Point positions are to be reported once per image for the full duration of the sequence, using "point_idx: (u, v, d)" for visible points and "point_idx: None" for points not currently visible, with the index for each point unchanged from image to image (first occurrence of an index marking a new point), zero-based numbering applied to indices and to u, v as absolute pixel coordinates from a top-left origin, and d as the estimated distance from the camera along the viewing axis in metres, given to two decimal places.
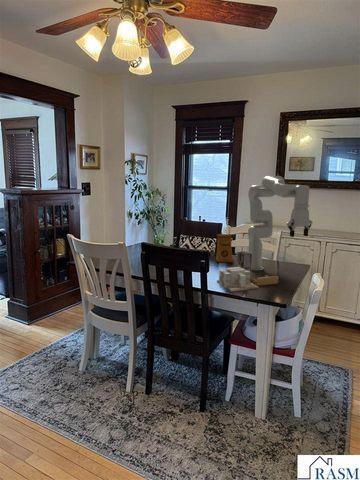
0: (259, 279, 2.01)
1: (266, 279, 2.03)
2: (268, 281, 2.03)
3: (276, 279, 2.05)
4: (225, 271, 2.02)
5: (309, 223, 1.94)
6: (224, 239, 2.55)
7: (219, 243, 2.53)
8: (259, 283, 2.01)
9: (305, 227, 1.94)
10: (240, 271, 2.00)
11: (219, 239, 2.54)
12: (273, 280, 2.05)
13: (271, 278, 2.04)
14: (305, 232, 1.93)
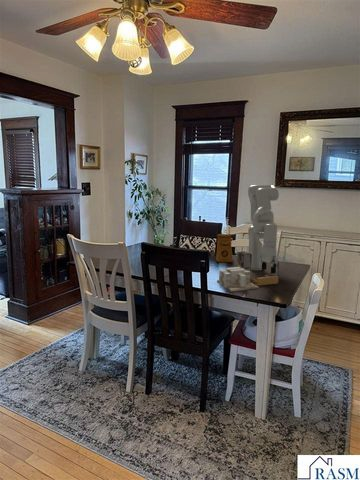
0: (259, 279, 2.01)
1: (266, 279, 2.03)
2: (268, 281, 2.03)
3: (276, 279, 2.05)
4: (225, 271, 2.02)
5: None
6: (224, 239, 2.55)
7: (219, 243, 2.53)
8: (259, 283, 2.01)
9: (263, 262, 2.06)
10: (240, 271, 2.00)
11: (219, 239, 2.54)
12: (273, 280, 2.05)
13: (271, 278, 2.04)
14: (264, 266, 2.06)
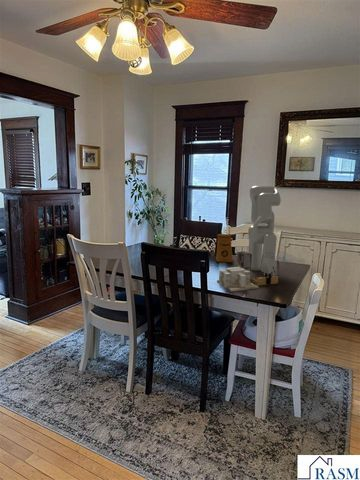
0: (259, 279, 2.01)
1: None
2: None
3: (276, 279, 2.05)
4: (225, 271, 2.02)
5: None
6: (224, 239, 2.55)
7: (219, 243, 2.53)
8: (259, 283, 2.01)
9: (265, 274, 2.05)
10: (240, 271, 2.00)
11: (219, 239, 2.54)
12: (273, 280, 2.05)
13: (271, 278, 2.04)
14: None
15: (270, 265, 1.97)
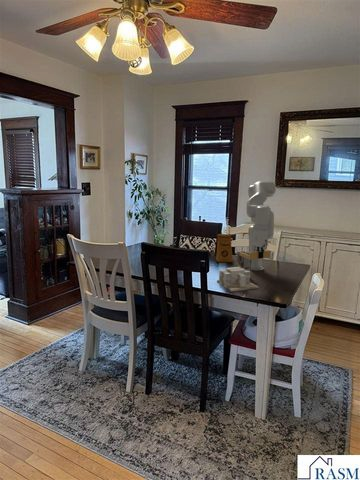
0: (251, 253, 1.95)
1: None
2: None
3: (268, 253, 1.99)
4: (225, 271, 2.02)
5: None
6: (224, 239, 2.55)
7: (219, 243, 2.53)
8: (251, 257, 1.95)
9: None
10: (240, 271, 2.00)
11: (219, 239, 2.54)
12: (265, 254, 1.99)
13: (263, 253, 1.98)
14: None
15: (262, 238, 1.91)
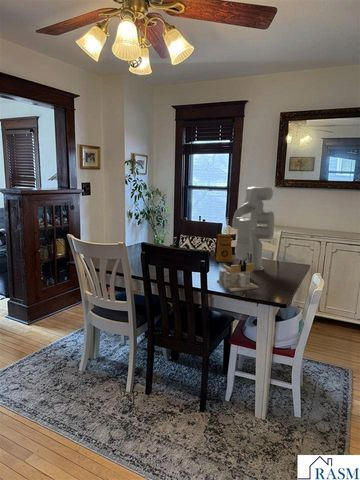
0: (233, 266, 1.92)
1: None
2: None
3: (251, 267, 1.96)
4: (225, 271, 2.02)
5: None
6: (224, 239, 2.55)
7: (219, 243, 2.53)
8: (233, 271, 1.92)
9: (240, 261, 1.95)
10: None
11: (219, 239, 2.54)
12: (248, 267, 1.95)
13: (246, 266, 1.94)
14: None
15: (244, 251, 1.88)
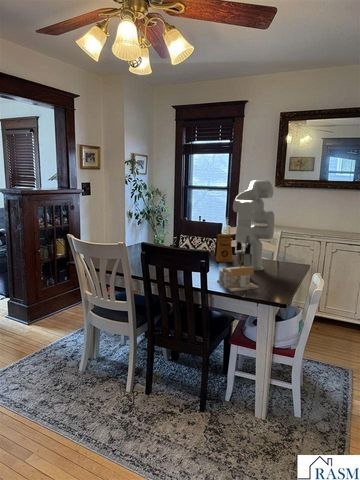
0: (233, 269, 1.92)
1: (241, 270, 1.94)
2: (243, 272, 1.94)
3: (251, 270, 1.96)
4: None
5: None
6: (224, 239, 2.55)
7: (219, 243, 2.53)
8: (233, 274, 1.92)
9: (238, 242, 1.96)
10: None
11: (219, 239, 2.54)
12: (248, 270, 1.95)
13: (246, 269, 1.95)
14: (239, 246, 1.97)
15: (245, 234, 1.86)
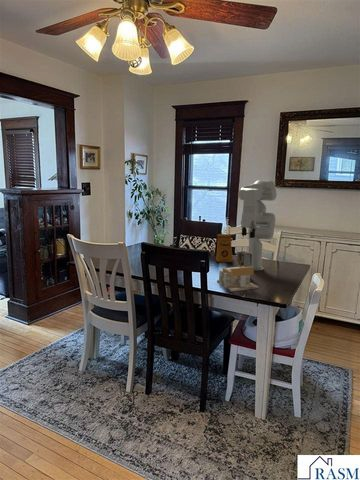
0: (233, 269, 1.92)
1: (241, 270, 1.94)
2: (243, 272, 1.94)
3: (251, 270, 1.96)
4: None
5: None
6: (224, 239, 2.55)
7: (219, 243, 2.53)
8: (233, 274, 1.92)
9: None
10: None
11: (219, 239, 2.54)
12: (248, 270, 1.95)
13: (246, 269, 1.95)
14: (244, 232, 2.12)
15: (250, 219, 2.01)
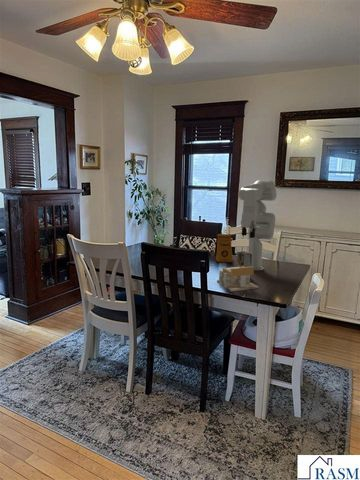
0: (233, 269, 1.92)
1: (241, 270, 1.94)
2: (243, 272, 1.94)
3: (251, 270, 1.96)
4: None
5: None
6: (224, 239, 2.55)
7: (219, 243, 2.53)
8: (233, 274, 1.92)
9: None
10: None
11: (219, 239, 2.54)
12: (248, 270, 1.95)
13: (246, 269, 1.95)
14: (244, 232, 2.12)
15: (250, 219, 2.01)
